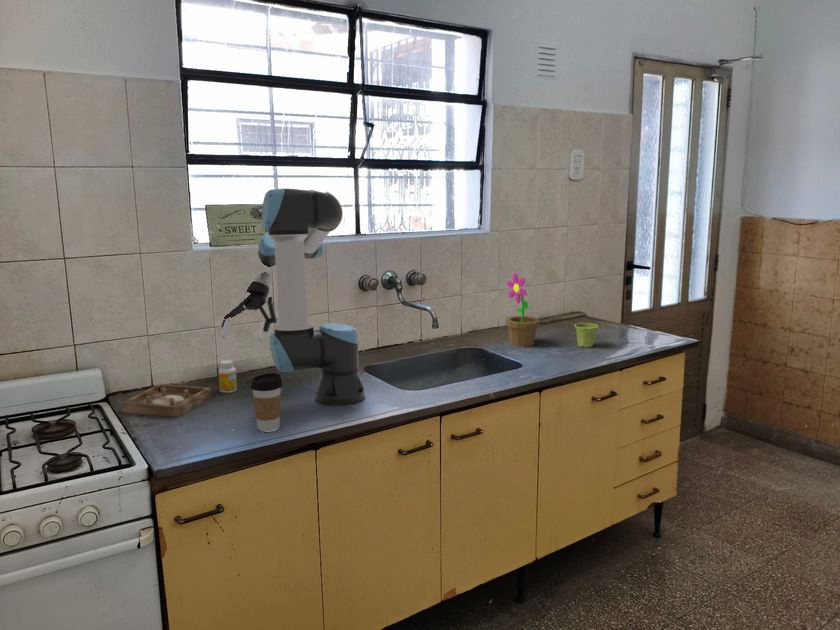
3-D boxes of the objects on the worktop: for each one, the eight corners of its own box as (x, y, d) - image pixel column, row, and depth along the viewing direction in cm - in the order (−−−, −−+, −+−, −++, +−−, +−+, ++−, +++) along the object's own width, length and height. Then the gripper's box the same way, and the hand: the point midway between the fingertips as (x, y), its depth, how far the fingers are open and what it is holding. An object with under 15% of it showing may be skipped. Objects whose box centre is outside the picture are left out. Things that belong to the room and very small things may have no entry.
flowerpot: (497, 342, 271) (499, 271, 264) (523, 337, 278) (525, 268, 272) (520, 349, 259) (523, 276, 253) (546, 345, 267) (549, 273, 260)
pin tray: (159, 392, 207) (158, 382, 206) (210, 396, 203) (209, 385, 203) (123, 412, 190) (121, 400, 189) (178, 417, 186) (177, 405, 185)
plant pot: (580, 349, 260) (581, 328, 258) (569, 343, 269) (570, 323, 267) (601, 348, 262) (602, 327, 260) (589, 342, 271) (591, 322, 269)
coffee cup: (289, 430, 177) (287, 377, 174) (259, 437, 172) (257, 383, 169) (277, 420, 184) (274, 370, 181) (248, 427, 179) (245, 375, 176)
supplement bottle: (216, 390, 209) (214, 361, 207) (230, 386, 213) (229, 358, 211) (225, 394, 206) (223, 365, 204) (240, 390, 210) (238, 361, 208)
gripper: (295, 294, 228) (279, 345, 217) (230, 291, 233) (212, 341, 222) (288, 281, 222) (272, 334, 211) (222, 279, 227) (202, 330, 216)
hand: (241, 338), depth 217 cm, fingers open, 13 cm apart
